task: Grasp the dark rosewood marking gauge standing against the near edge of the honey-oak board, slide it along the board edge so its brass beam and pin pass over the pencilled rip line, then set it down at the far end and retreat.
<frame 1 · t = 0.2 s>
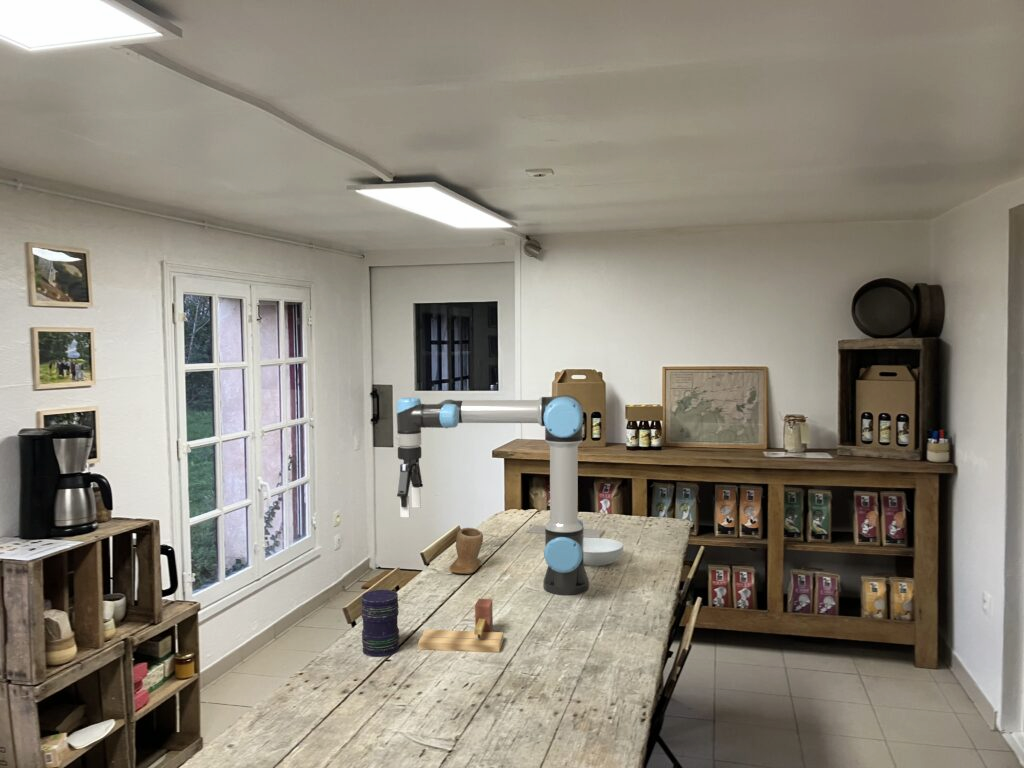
hand: (410, 512, 255), 28 cm above the table, fingers open, 13 cm apart
storage jar: (380, 650, 214), on the table
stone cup: (468, 570, 285), on the table
board: (461, 644, 218), on the table
gauge: (484, 633, 225), on the table
serving bowl: (594, 563, 293), on the table
baseboard: (565, 534, 336), on the table
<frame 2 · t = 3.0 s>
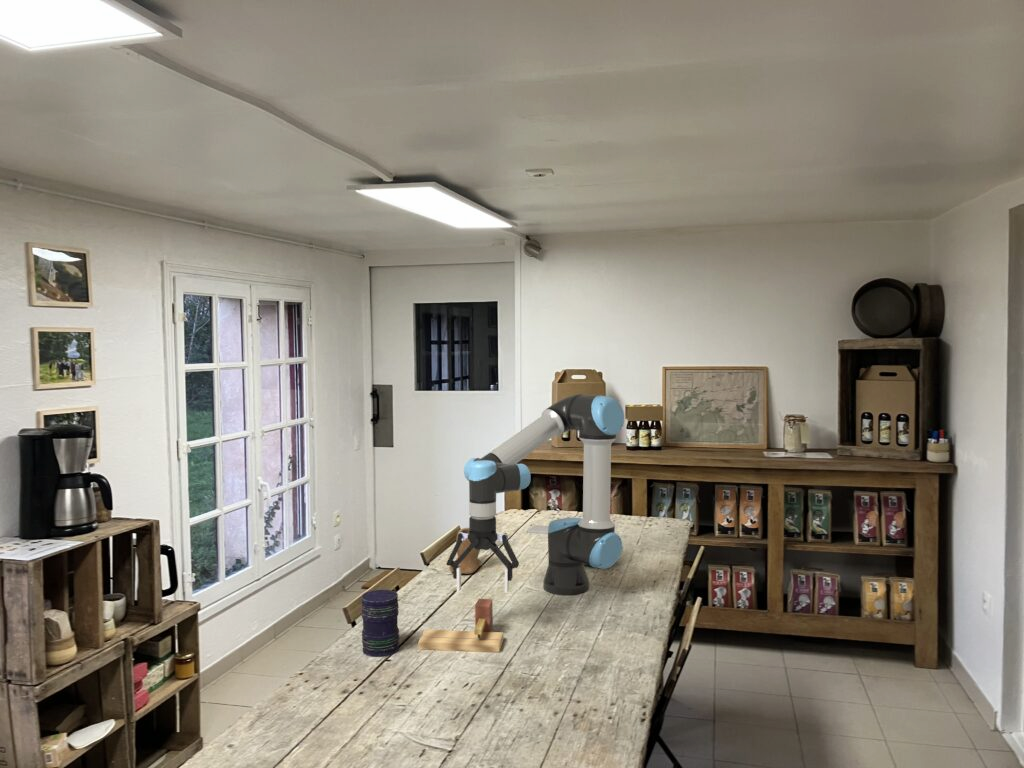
hand: (482, 590, 224), 12 cm above the table, fingers open, 13 cm apart
nothing on the table moved.
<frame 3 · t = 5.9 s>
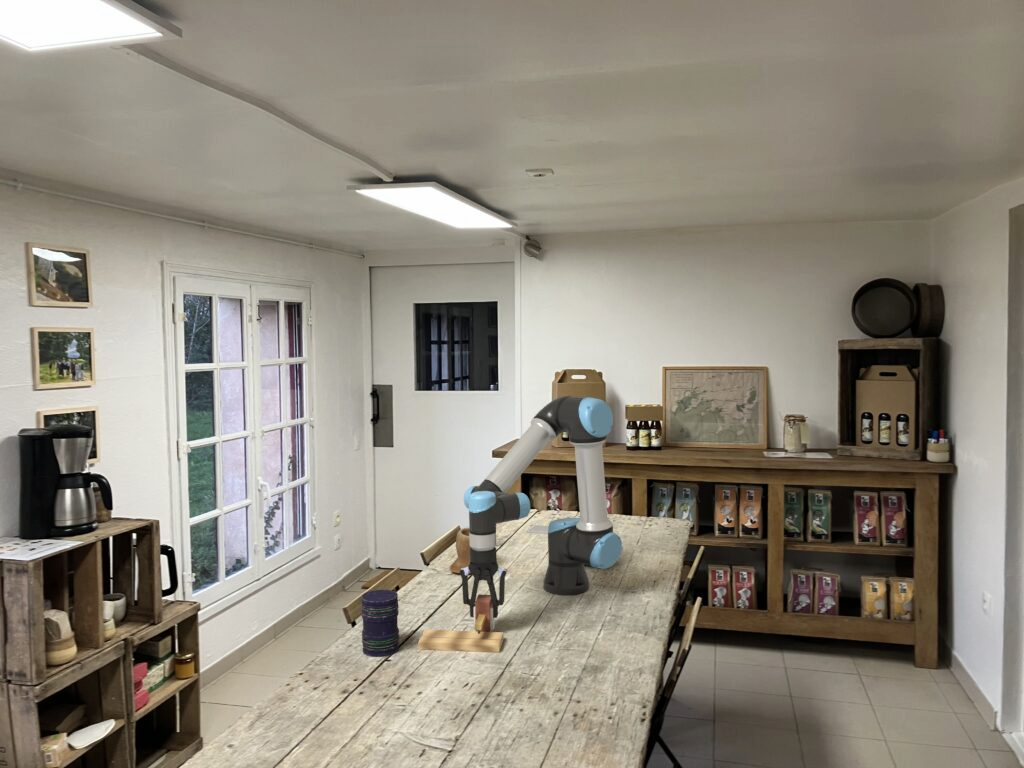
hand: (484, 628, 225), 2 cm above the table, fingers closed on gauge, 4 cm apart
gauge: (484, 629, 225), point 1 cm above the table, touching gripper
everything else where it was.
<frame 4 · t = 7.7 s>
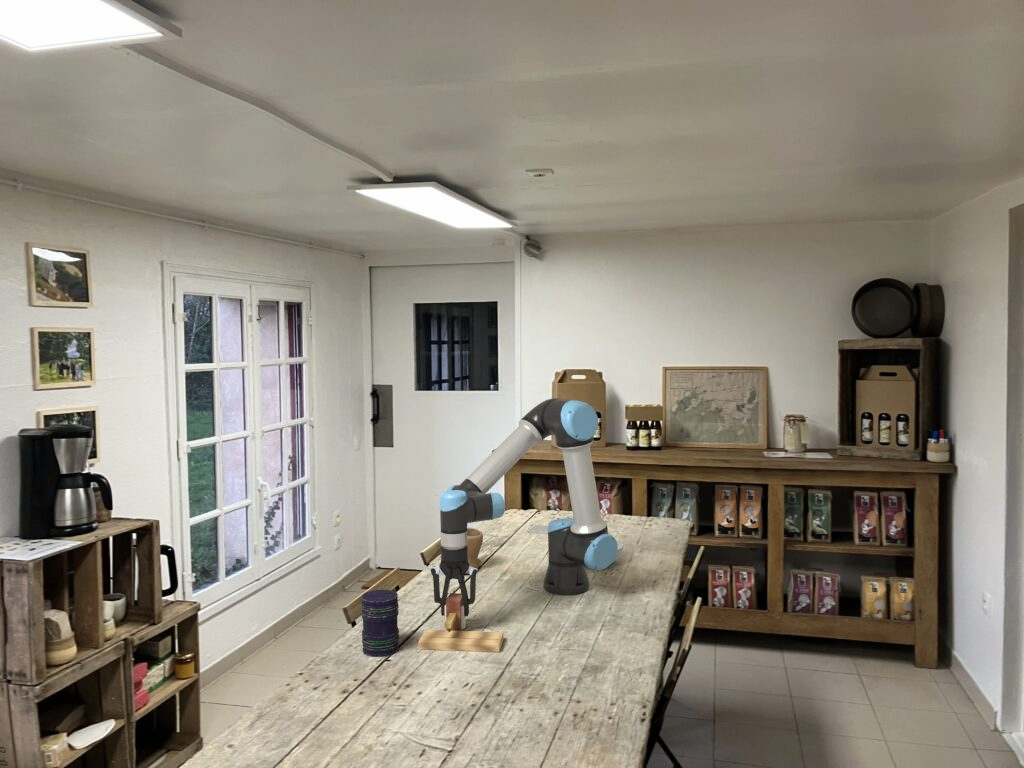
hand: (455, 626, 226), 2 cm above the table, fingers closed on gauge, 4 cm apart
gauge: (455, 627, 226), point 1 cm above the table, touching gripper
everything else where it was.
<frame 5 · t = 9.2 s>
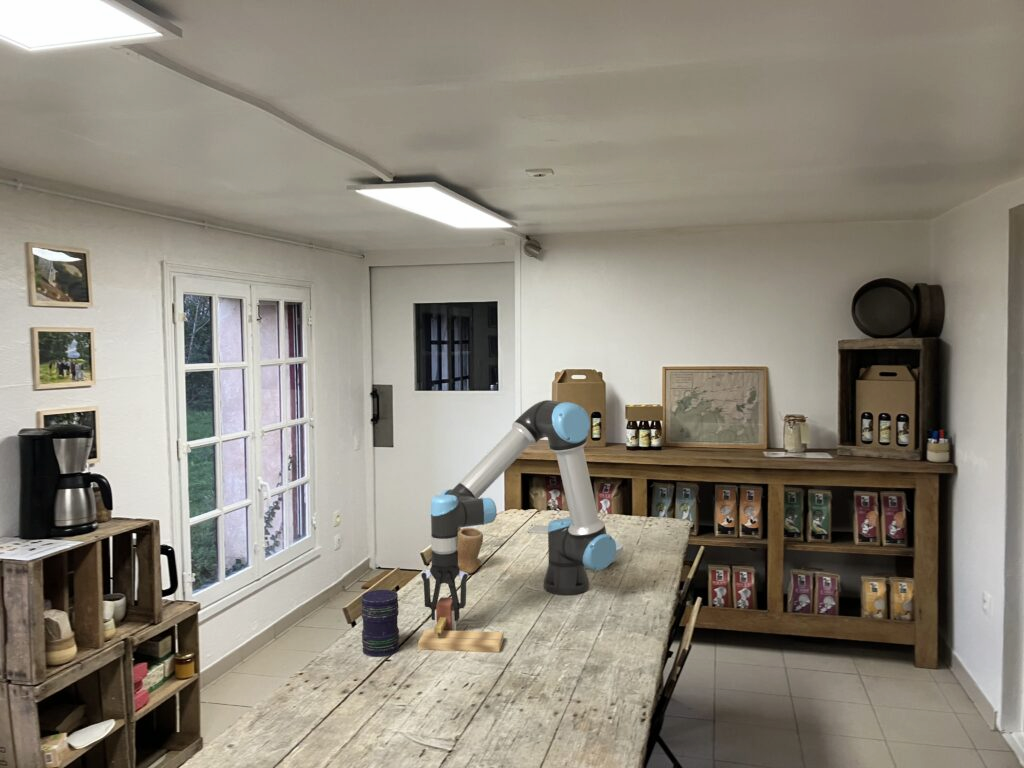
hand: (445, 631, 226), 0 cm above the table, fingers closed on gauge, 4 cm apart
gauge: (445, 632, 227), on the table, touching gripper
everything else where it was.
when the fingers open (0 cm above the table, at t = 9.9 s): gauge stays where it is, on the table.
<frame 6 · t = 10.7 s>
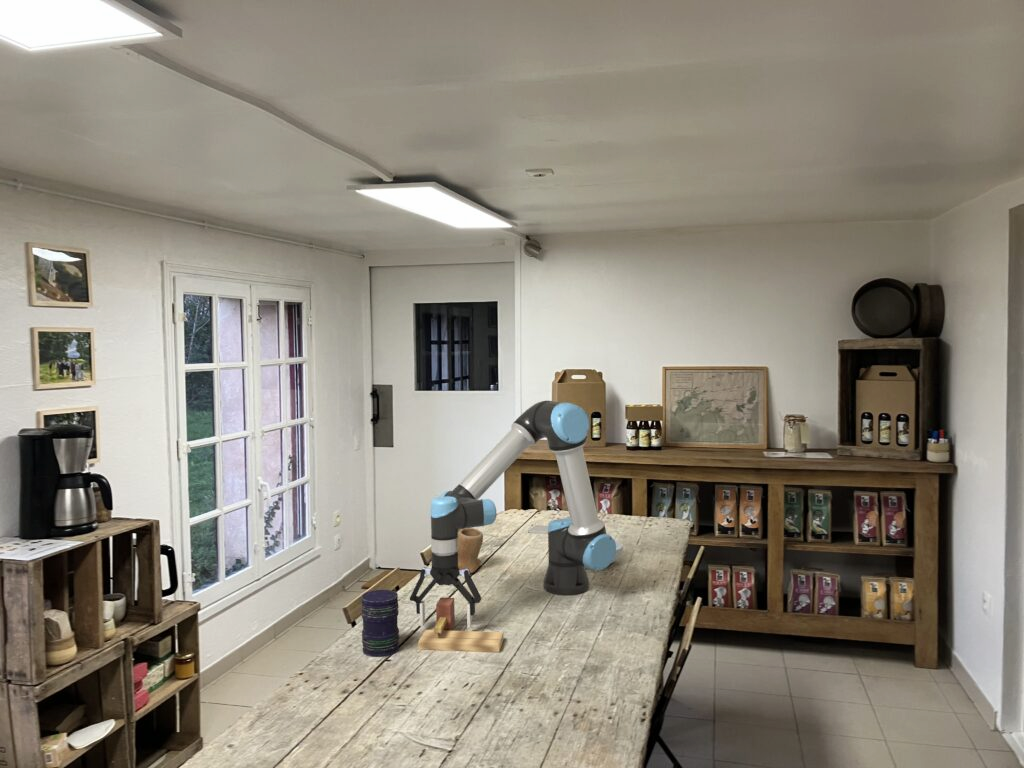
hand: (445, 625, 226), 2 cm above the table, fingers open, 13 cm apart
gauge: (445, 632, 227), on the table
everything else where it was.
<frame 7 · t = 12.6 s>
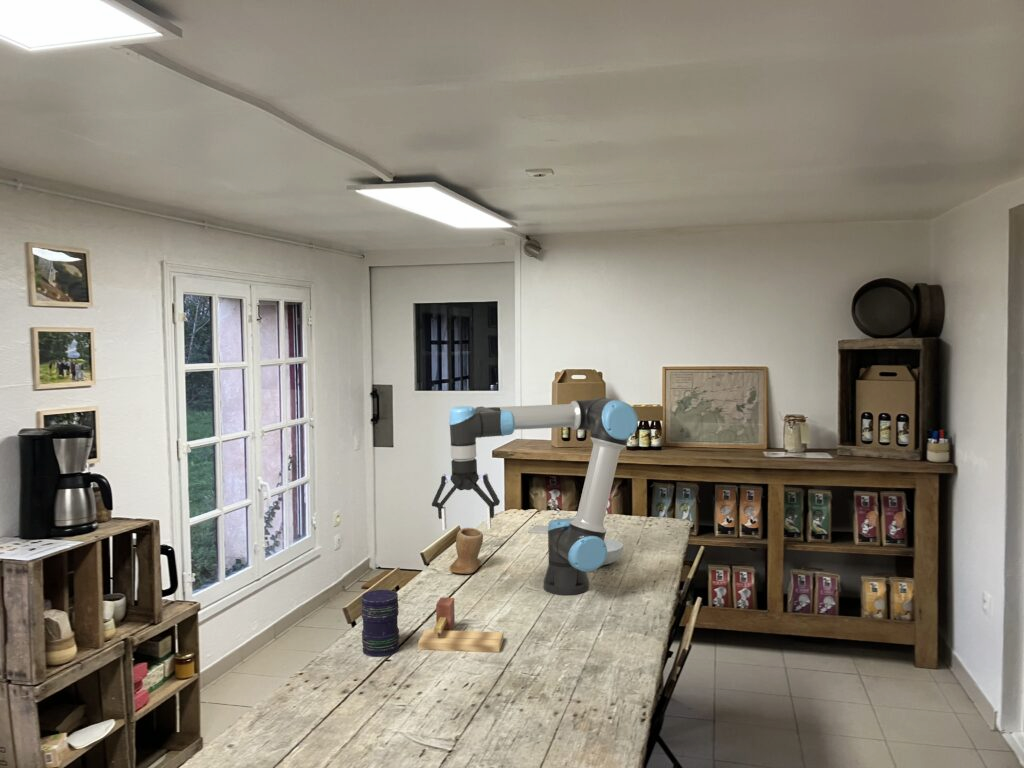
hand: (466, 529, 238), 26 cm above the table, fingers open, 13 cm apart
nothing on the table moved.
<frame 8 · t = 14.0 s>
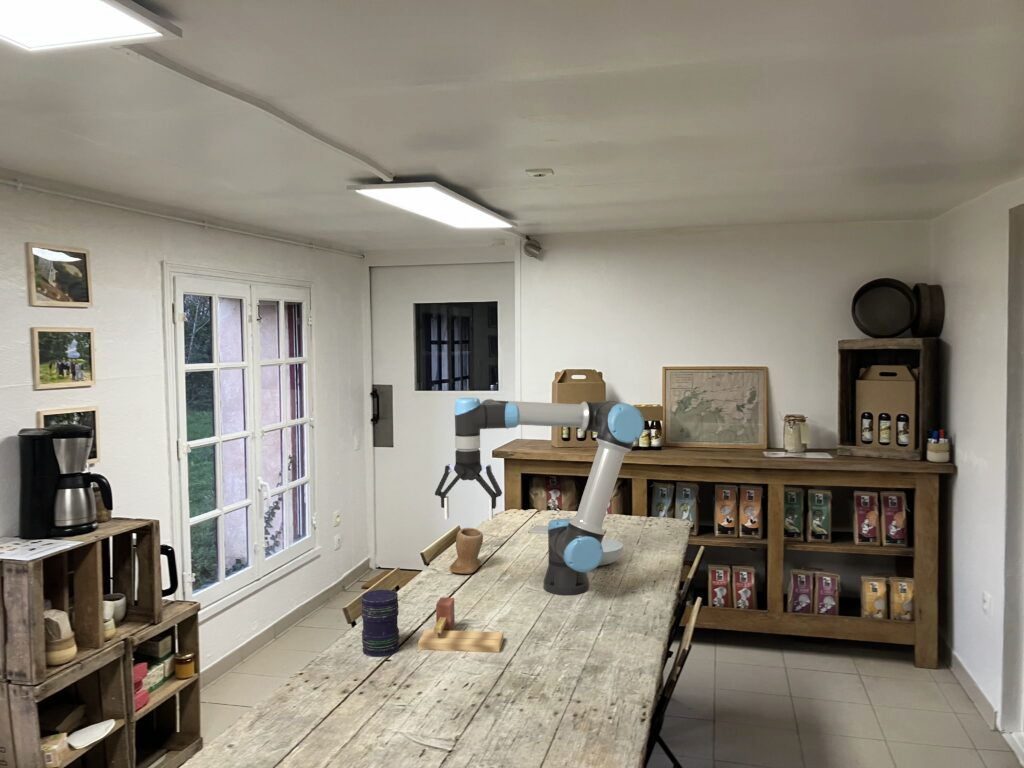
hand: (468, 518, 241), 29 cm above the table, fingers open, 13 cm apart
nothing on the table moved.
at the end: gauge inside the target area (0.2 cm from its centre), on the table; gauge tilted 0°; the gripper is holding nothing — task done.
